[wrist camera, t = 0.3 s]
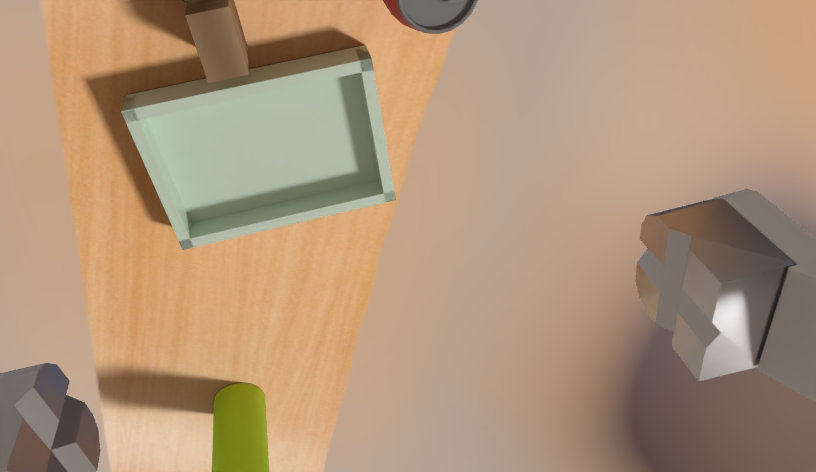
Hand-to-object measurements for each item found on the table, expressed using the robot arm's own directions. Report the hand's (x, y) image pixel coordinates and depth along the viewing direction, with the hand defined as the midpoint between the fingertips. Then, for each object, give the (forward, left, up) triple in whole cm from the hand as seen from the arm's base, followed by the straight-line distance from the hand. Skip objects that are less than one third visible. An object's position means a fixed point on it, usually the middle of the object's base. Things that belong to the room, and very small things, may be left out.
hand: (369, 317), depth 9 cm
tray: (+21, -5, -46) cm, 51 cm away
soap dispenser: (+52, -17, -46) cm, 72 cm away
